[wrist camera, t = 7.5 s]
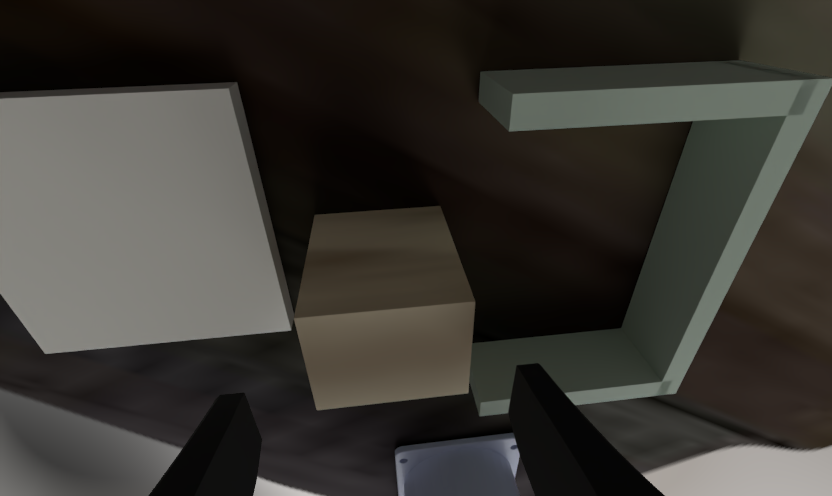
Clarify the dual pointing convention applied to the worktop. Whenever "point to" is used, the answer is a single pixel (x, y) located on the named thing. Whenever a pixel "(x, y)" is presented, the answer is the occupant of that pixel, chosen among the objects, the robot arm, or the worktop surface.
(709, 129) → the arch
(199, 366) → the worktop surface
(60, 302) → the coaster
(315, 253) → the maple block
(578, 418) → the robot arm
